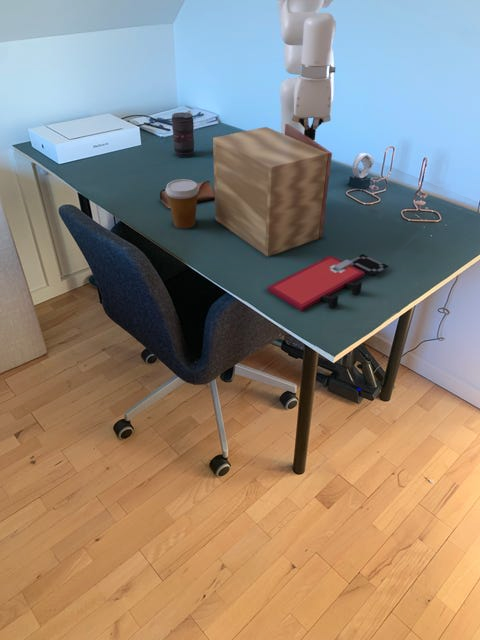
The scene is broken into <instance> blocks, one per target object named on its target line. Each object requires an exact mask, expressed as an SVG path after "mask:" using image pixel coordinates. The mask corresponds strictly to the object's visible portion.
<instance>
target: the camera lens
mask: <svg viewBox="0 0 480 640" xmlns="http://www.w3.org/2000/svg"><path fill="white" fill-rule="evenodd" d="M194 124H195V123H194V115H193V114H192V113H190V112H174V113H172V115H171V128H172V139H173V149H174V153H175V156H176V157H178V158H189V157H192V156H194V150H195V137H194V135H195V134H194V130H195V129H194V128H195V125H194Z"/></svg>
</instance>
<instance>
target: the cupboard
mask: <svg viewBox="0 0 480 640" xmlns="http://www.w3.org/2000/svg"><path fill="white" fill-rule="evenodd" d="M212 148H213V149H212V151H213V178H214V179H213V183H214V185H213V187H214V188H213V189H214V191H215V199H214V218H215V219H214V220H215V221H216V222H218V223H219V224H221V225H222V226H223V227H225V228H226V229H228V230H229V231H230V232H232V233H233V234H235V235H237V236H238V237H239V238H240V239H242V240H243V241H245V243H248V244H249V245H250V246H252V247H253V248H254V249H256V250H257V251H259V252H261V254H263V255H264V256H266V257H270V256H274V255H277V254H279V253H282V252H284V251H287V250H290V249H291V250H292V249H293V248H296V247H299V246H302V245H304V244H307V243H310V242H313V241H315V240H319V239H320V238H319V229H320V220H321V211H322V203H323V194H324V185H325V176H326V167H327V159H328V153H327V152H324V151H322V150H319V149H317V148H315V147H312V146H310V145H308V144H305V143H303V142H301V141H298V140H296V139H294V138H291V137H289V136H286V135H284V134H282V133H281V132H279V131H277V130H274V129H273V128H270V127H268V126H264V127H259V128H253V129H250V130H244V131H239V132H233V133H230V134H225V135H220V136H215V137H212Z"/></svg>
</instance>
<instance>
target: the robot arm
mask: <svg viewBox="0 0 480 640" xmlns="http://www.w3.org/2000/svg"><path fill="white" fill-rule="evenodd" d="M334 1H335V0H277V8H278V12H279V24H280V25H279V26H280V34H281V35H280V36H281V38H282V41H283V54H284V55H283V57H284V58H283V61H284V62H283V63H284V69H285V71H286V72H287V73H288V74H289V75H297V76H293V77H288V78H286V79H285V80H283V81H282V82H281V84H280V86H279V99H280V133H282V134H284V135H285V124H289V125H291V126H292V127H294V128H295V129H297V130H298V131H300V132H301V133H303V134H304V135H306V136H307V137H309V138H310V139H312V140H313V141H315V140H316V132H317V129H318V128H319V126H321V125H322V124H325V123H328V122H330V121H331V120H332V119H331V113H332V105H333V104H332V103H333V100H334V91H335V90H334V89H335V88H334V87H335V86H334V85H335V84H334V81H335V79H334V78H335V77H334V76H335V75H334V74H335V73H336V66H334V65H335V59H334V57H335V56H334V49H333V42H334V38H335V35H336V31H337V21H336V20H335V17H334V16H333V15H332V13H329V12H320V10H321V9H327V8H329V7H330V6H331V5H332V4H333V2H334ZM309 119H312V122H311V125H310V124H309Z"/></svg>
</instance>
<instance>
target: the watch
mask: <svg viewBox="0 0 480 640" xmlns="http://www.w3.org/2000/svg"><path fill="white" fill-rule="evenodd" d="M360 163H362V166H363V169H362V170H361V172H360V169H359V166H360ZM374 164H375V159H374V158H373V156H372V155H371V154H369V153H367V152H360V153H358V154H357V155H356V157H355V158H354V161H353V163H352V167H351V169H352V170H351V171H352V174H351V175H349V178H348V186H351V187H353V188H355V189H358V190H363V189H367V188H369V187H370V185H371V184H370V183H371V177H370V176H367V175H368V174H369V173H370V170H371V169H372V168H373V165H374Z"/></svg>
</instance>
